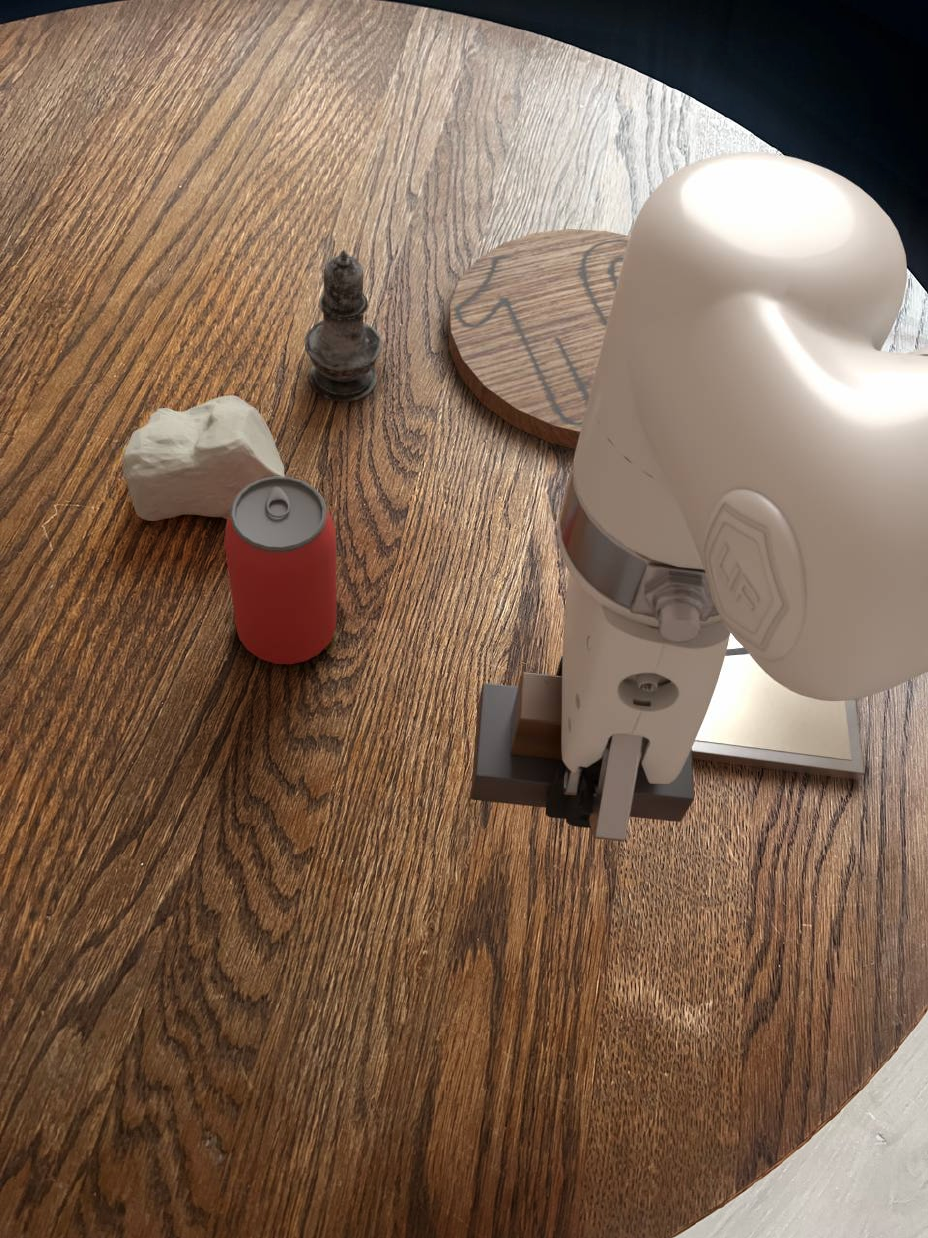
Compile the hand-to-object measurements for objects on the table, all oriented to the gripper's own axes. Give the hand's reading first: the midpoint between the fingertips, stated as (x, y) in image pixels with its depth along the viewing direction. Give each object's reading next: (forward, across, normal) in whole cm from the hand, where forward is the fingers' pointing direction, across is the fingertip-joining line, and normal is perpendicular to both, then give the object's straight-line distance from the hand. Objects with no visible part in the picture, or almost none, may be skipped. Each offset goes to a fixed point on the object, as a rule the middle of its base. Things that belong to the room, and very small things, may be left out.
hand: (580, 757), depth 54 cm
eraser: (+1, 0, 0) cm, 1 cm away
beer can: (+16, +16, +17) cm, 28 cm away
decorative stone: (+16, +28, +25) cm, 41 cm away
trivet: (+16, +47, -3) cm, 50 cm away
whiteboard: (+15, +19, -13) cm, 28 cm away
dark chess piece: (+16, +40, +17) cm, 46 cm away
